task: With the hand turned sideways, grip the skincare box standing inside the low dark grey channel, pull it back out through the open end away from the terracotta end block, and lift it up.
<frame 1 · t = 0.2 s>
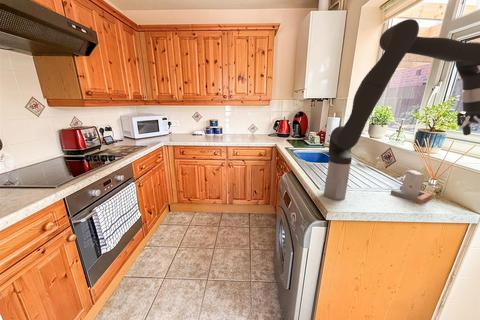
hand: (477, 136, 85), 30 cm above the worktop, tool tilted 20°, fingers open, 8 cm apart
channel: (409, 195, 97), on the worktop
skincare box: (409, 195, 97), on the worktop
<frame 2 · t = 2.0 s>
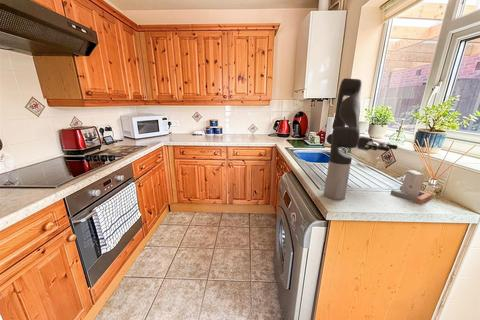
hand: (393, 148, 101), 22 cm above the worktop, tool horizontal, fingers open, 8 cm apart
nothing on the worktop moved.
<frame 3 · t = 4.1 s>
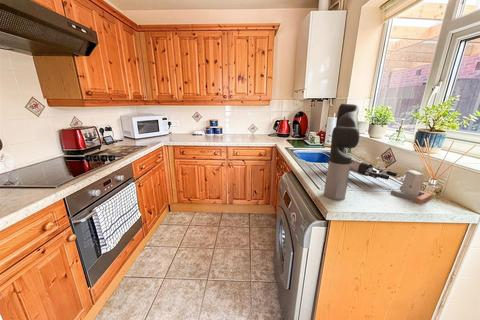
hand: (392, 176, 102), 7 cm above the worktop, tool horizontal, fingers open, 8 cm apart
nothing on the worktop moved.
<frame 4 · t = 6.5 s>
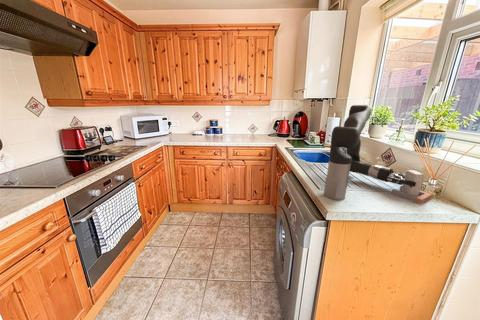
hand: (418, 183, 94), 7 cm above the worktop, tool horizontal, fingers closed on skincare box, 6 cm apart
skincare box: (409, 195, 97), on the worktop, touching gripper
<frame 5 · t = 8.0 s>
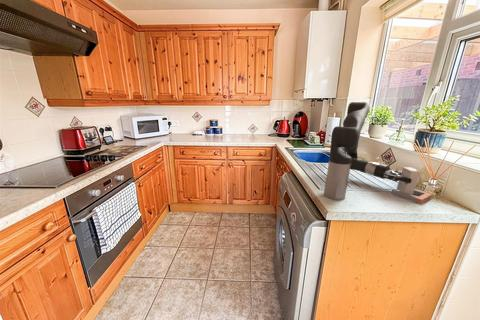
hand: (414, 179, 95), 8 cm above the worktop, tool horizontal, fingers closed on skincare box, 6 cm apart
skincare box: (404, 192, 99), point 1 cm above the worktop, touching gripper
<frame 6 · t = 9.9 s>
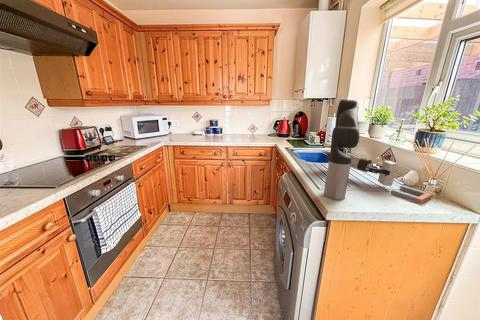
hand: (392, 172, 102), 9 cm above the worktop, tool horizontal, fingers closed on skincare box, 6 cm apart
skincare box: (384, 184, 106), point 2 cm above the worktop, touching gripper
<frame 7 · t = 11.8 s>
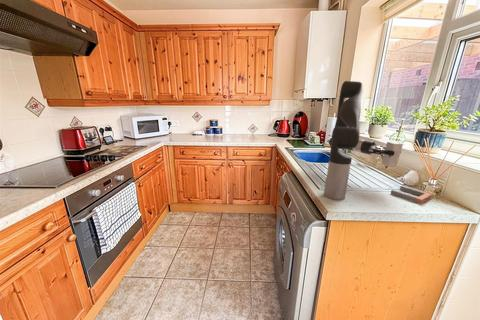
hand: (397, 152, 99), 20 cm above the worktop, tool horizontal, fingers closed on skincare box, 6 cm apart
skincare box: (388, 165, 103), point 12 cm above the worktop, touching gripper
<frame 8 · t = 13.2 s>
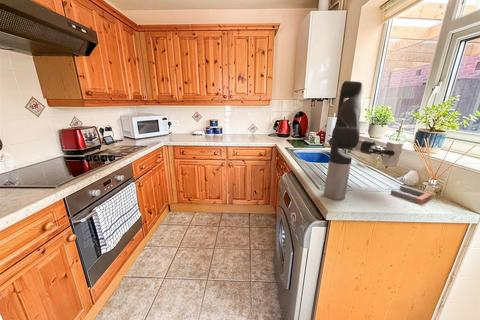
hand: (397, 152, 99), 20 cm above the worktop, tool horizontal, fingers closed on skincare box, 6 cm apart
skincare box: (388, 165, 103), point 12 cm above the worktop, touching gripper
at the end: the gripper is holding skincare box; skincare box point 12.2 cm above the worktop; skincare box inside the target area (0.9 cm from its centre), point 12.2 cm above the worktop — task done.
